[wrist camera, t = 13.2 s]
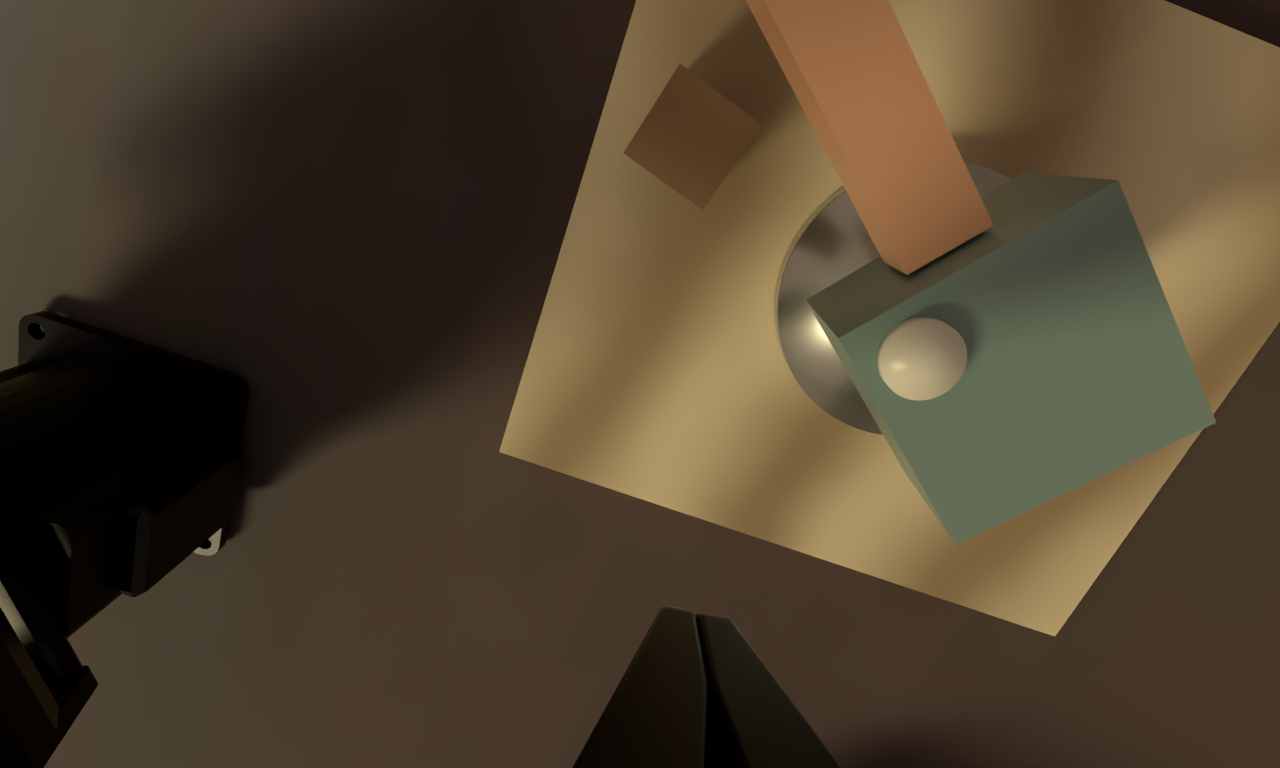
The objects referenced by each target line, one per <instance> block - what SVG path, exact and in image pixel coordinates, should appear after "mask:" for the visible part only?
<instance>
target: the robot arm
mask: <svg viewBox="0 0 1280 768" xmlns="http://www.w3.org/2000/svg"><path fill="white" fill-rule="evenodd" d="M40 325H41V326H42V328H43V329H44V331H45V334H44V333H43V331H42V330H41V328H40ZM224 385H225V386H227V387H229V388H230V390H231V391H232V396H231V395H229V394H227V393H226V391H225V390H224ZM248 395H249V391H248V386H247V384H246V382H245V381H244V380H243V379H242V378H241V377H240V376H238V375H236V374H234V373H231V372H228V371H225V370H222V369H219V368H216V367H213V366H210V365H207V364H204V363H201V362H198V361H195V360H192V359H189V358H186V357H183V356H180V355H177V354H174V353H171V352H168V351H165V350H162V349H159V348H156V347H153V346H150V345H147V344H144V343H141V342H138V341H135V340H132V339H129V338H126V337H122V336H119V335H116V334H113V333H110V332H107V331H104V330H101V329H98V328H95V327H92V326H89V325H86V324H83V323H80V322H77V321H74V320H71V319H68V318H65V317H62V316H59V315H56V314H53V313H50V312H44V311H41V312H38V313H34V314H30V315H26V316H24V317H23V318H22V319H21V320H20V324H19V354H18V366H16V367H13V368H10V369H7V370H4V371H1V372H0V768H44V766H45V765H46V763H47V761H48V760H49V758H50V757H51V755H52V754H53V752H54V751H55V749H56V748H57V746H58V745H59V743H60V742H61V740H62V739H63V737H64V736H65V734H66V733H67V731H68V730H69V728H70V727H71V725H72V724H73V722H74V721H75V719H76V718H77V716H78V715H79V713H80V712H81V710H82V709H83V707H84V706H85V704H86V702H87V701H88V699H89V698H90V696H91V695H92V693H93V692H94V690H95V689H96V687H97V685H98V683H97V681H96V679H95V677H94V675H93V674H92V672H91V670H90V668H89V667H88V666H82V664H81V662H80V661H79V659H78V657H77V655H76V653H75V652H74V650H73V648H72V646H71V644H70V643H69V641H68V639H67V638H68V637H69V636H71V635H72V634H73V633H74V632H75V631H77V630H78V629H79V628H80V627H82V626H83V625H84V624H85V623H87V622H88V621H89V620H90V619H91V618H93V617H94V616H95V615H96V614H98V613H99V612H100V611H101V610H102V609H104V608H105V607H106V606H107V605H109V604H110V603H111V602H112V601H114V600H115V599H116V598H117V597H118V596H120V595H121V594H125V595H128V596H131V597H136V596H138V595H140V594H142V593H144V592H146V591H148V590H149V589H150V588H151V587H152V586H153V585H155V584H156V583H157V582H158V581H159V580H161V579H162V578H163V577H164V576H165V575H166V574H168V573H169V572H170V571H171V570H172V569H174V568H175V567H176V566H177V565H178V564H179V563H181V562H182V561H183V560H184V559H185V558H187V557H188V556H189V555H190V554H191V553H192V552H194V553H197V554H201V555H206V556H209V555H214V554H215V553H216V552H217V551H219V550H220V549H221V548H222V547H223V546H224V545H225V544H226V541H227V536H228V529H229V522H230V520H231V519H233V518H234V517H235V515H236V509H237V503H238V496H239V489H240V483H241V476H242V470H243V463H244V457H245V452H244V449H243V446H242V445H241V442H242V435H243V428H244V422H245V415H246V408H247V402H248ZM208 539H209V540H210V541H211V542H210V541H208ZM573 768H842V767H841V765H840V764H839V763H838V761H837V760H836V759H835V757H834V756H833V755H832V753H831V752H830V751H829V749H828V748H827V747H826V745H825V744H824V743H823V741H822V740H821V739H820V737H819V736H818V735H817V733H816V732H815V731H814V729H813V728H812V727H811V725H810V724H809V723H808V721H807V720H806V719H805V717H804V716H803V715H802V713H801V712H800V711H799V709H798V708H797V707H796V705H795V704H794V703H793V701H792V700H791V699H790V697H789V696H788V695H787V693H786V692H785V691H784V689H783V688H782V687H781V685H780V684H779V683H778V681H777V680H776V679H775V677H774V676H773V675H772V673H771V672H770V671H769V669H768V668H767V667H766V665H765V664H764V663H763V661H762V660H761V659H760V657H759V656H758V655H757V653H756V652H755V651H754V649H753V648H752V647H751V645H750V644H749V643H748V641H747V640H746V639H745V637H744V636H743V635H742V633H741V632H740V631H739V629H738V628H737V627H736V625H735V624H734V623H733V621H732V620H731V619H729V618H728V617H725V616H719V615H714V614H709V613H704V612H700V613H698V614H697V615H695V613H694V612H693V611H691V610H688V609H683V608H678V607H673V606H663V607H662V608H661V609H660V611H659V613H658V615H657V616H656V618H655V620H654V622H653V624H652V625H651V627H650V629H649V631H648V633H647V634H646V636H645V638H644V640H643V642H642V643H641V645H640V647H639V649H638V651H637V652H636V654H635V656H634V658H633V660H632V661H631V663H630V665H629V667H628V669H627V670H626V672H625V674H624V676H623V678H622V679H621V681H620V683H619V685H618V687H617V688H616V690H615V692H614V694H613V696H612V697H611V699H610V701H609V703H608V705H607V706H606V708H605V710H604V712H603V714H602V715H601V717H600V719H599V721H598V723H597V724H596V726H595V728H594V730H593V732H592V733H591V735H590V737H589V739H588V741H587V742H586V744H585V746H584V748H583V750H582V751H581V753H580V755H579V757H578V759H577V760H576V762H575V764H574V766H573Z"/></svg>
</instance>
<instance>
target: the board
mask: <svg viewBox="0 0 1280 768" xmlns="http://www.w3.org/2000/svg"><path fill="white" fill-rule="evenodd" d="M888 1H889V3H890V5H891V7H892V9H893V11H894V14H895V16H896V18H897V20H898V22H899V24H900V26H901V29H902V31H903V33H904V35H905V37H906V39H907V41H908V43H909V46H910V48H911V50H912V52H913V54H914V56H915V58H916V61H917V63H918V65H919V67H920V69H921V71H922V73H923V75H924V78H925V80H926V82H927V84H928V86H929V88H930V90H931V93H932V95H933V97H934V99H935V101H936V103H937V105H938V107H939V110H940V112H941V114H942V116H943V118H944V120H945V122H946V125H947V127H948V129H949V131H950V133H951V135H952V137H953V140H954V142H955V144H956V146H957V148H958V150H959V152H960V154H961V157H962V159H963V161H964V162H966V163H973V164H976V165H979V166H983V167H986V168H989V169H992V170H994V171H996V172H999V173H1001V174H1003V175H1005V176H1007V177H1009V178H1010V179H1013V178H1014V177H1016V176H1018V175H1020V174H1021V173H1036V174H1048V175H1060V176H1073V177H1085V178H1098V179H1110V180H1119V183H1120V185H1121V188H1122V190H1123V193H1124V195H1125V198H1126V200H1127V203H1128V205H1129V208H1130V210H1131V213H1132V215H1133V218H1134V220H1135V223H1136V225H1137V228H1138V230H1139V232H1140V235H1141V237H1142V240H1143V242H1144V245H1145V247H1146V250H1147V252H1148V255H1149V257H1150V260H1151V262H1152V265H1153V267H1154V270H1155V272H1156V275H1157V277H1158V280H1159V282H1160V285H1161V287H1162V290H1163V292H1164V294H1165V297H1166V299H1167V302H1168V304H1169V307H1170V309H1171V312H1172V314H1173V317H1174V319H1175V322H1176V324H1177V327H1178V329H1179V332H1180V334H1181V337H1182V339H1183V342H1184V344H1185V347H1186V349H1187V351H1188V354H1189V356H1190V359H1191V361H1192V364H1193V366H1194V369H1195V371H1196V374H1197V376H1198V379H1199V381H1200V384H1201V386H1202V389H1203V391H1204V394H1205V396H1206V399H1207V401H1208V404H1209V406H1210V409H1211V411H1212V413H1213V414H1214V413H1215V411H1216V410H1217V409H1218V407H1219V406H1220V404H1221V403H1222V402H1223V400H1224V399H1225V397H1226V396H1227V395H1228V393H1229V392H1230V390H1231V389H1232V388H1233V386H1234V385H1235V383H1236V382H1237V381H1238V379H1239V378H1240V376H1241V375H1242V374H1243V372H1244V371H1245V369H1246V368H1247V367H1248V365H1249V364H1250V362H1251V361H1252V360H1253V358H1254V357H1255V355H1256V354H1257V353H1258V351H1259V350H1260V348H1261V347H1262V346H1263V344H1264V343H1265V341H1266V340H1267V339H1268V337H1269V336H1270V334H1271V333H1272V331H1273V330H1274V329H1275V327H1276V326H1277V324H1278V323H1279V322H1280V47H1277V46H1275V45H1272V44H1270V43H1268V42H1265V41H1263V40H1260V39H1258V38H1255V37H1253V36H1250V35H1248V34H1246V33H1243V32H1241V31H1238V30H1236V29H1233V28H1231V27H1229V26H1226V25H1224V24H1221V23H1219V22H1216V21H1214V20H1211V19H1209V18H1207V17H1204V16H1202V15H1199V14H1197V13H1194V12H1192V11H1190V10H1187V9H1185V8H1182V7H1180V6H1177V5H1175V4H1172V3H1170V2H1168V1H1165V0H888ZM679 64H682V65H683V66H684V67H686V68H687V69H688V70H690V71H691V72H692V73H694V74H695V75H696V76H698V77H699V78H700V79H701V80H703V81H704V82H705V83H707V84H708V85H709V86H711V87H712V88H713V89H715V90H716V91H717V92H719V93H720V94H721V95H723V96H724V97H725V98H727V99H728V100H729V101H731V102H732V103H733V104H735V105H736V106H737V107H739V108H740V109H741V110H743V111H744V112H745V113H747V114H748V115H749V116H750V117H752V118H753V119H754V120H756V121H757V122H758V123H760V124H761V125H762V126H761V127H760V129H759V130H758V131H757V133H756V134H755V136H754V137H753V139H752V140H751V142H750V143H749V144H748V146H747V147H746V149H745V150H744V152H743V153H742V154H741V156H740V157H739V159H738V160H737V162H736V163H735V165H734V166H733V167H732V169H731V170H730V172H729V173H728V175H727V176H726V177H725V179H724V180H723V182H722V183H721V185H720V186H719V188H718V189H717V190H716V192H715V193H714V195H713V196H712V198H711V199H710V200H709V202H708V203H707V205H706V206H705V208H704V209H703V210H702V209H700V208H699V207H698V206H696V205H695V204H693V203H692V202H691V201H689V200H688V199H686V198H685V197H684V196H682V195H681V194H679V193H678V192H677V191H675V190H674V189H672V188H671V187H670V186H668V185H667V184H666V183H664V182H663V181H661V180H660V179H659V178H657V177H656V176H654V175H653V174H652V173H650V172H649V171H647V170H646V169H645V168H643V167H642V166H640V165H639V164H638V163H636V162H635V161H633V160H632V159H631V158H629V157H628V156H627V155H625V154H624V151H625V149H626V148H627V146H628V145H629V143H630V142H631V140H632V138H633V137H634V135H635V134H636V132H637V131H638V129H639V127H640V126H641V124H642V123H643V121H644V119H645V118H646V116H647V115H648V113H649V112H650V110H651V108H652V107H653V105H654V104H655V102H656V101H657V99H658V97H659V96H660V94H661V93H662V91H663V89H664V88H665V86H666V85H667V83H668V82H669V80H670V78H671V77H672V75H673V74H674V72H675V70H676V69H677V67H678V66H679ZM841 187H843V184H842V182H841V180H840V178H839V176H838V175H837V173H836V171H835V169H834V167H833V165H832V163H831V161H830V159H829V157H828V156H827V154H826V152H825V150H824V148H823V146H822V144H821V142H820V140H819V138H818V137H817V135H816V133H815V131H814V129H813V127H812V125H811V123H810V121H809V120H808V118H807V116H806V114H805V112H804V110H803V108H802V106H801V104H800V102H799V101H798V99H797V97H796V95H795V93H794V91H793V89H792V87H791V85H790V84H789V82H788V80H787V78H786V76H785V74H784V72H783V70H782V68H781V66H780V65H779V63H778V61H777V59H776V57H775V55H774V53H773V51H772V49H771V47H770V46H769V44H768V42H767V40H766V38H765V36H764V34H763V32H762V30H761V29H760V27H759V25H758V23H757V21H756V19H755V17H754V15H753V13H752V11H751V10H750V8H749V6H748V4H747V2H746V0H636V3H635V6H634V9H633V13H632V16H631V19H630V22H629V26H628V29H627V32H626V36H625V39H624V42H623V46H622V49H621V52H620V55H619V59H618V62H617V65H616V69H615V72H614V75H613V78H612V82H611V85H610V88H609V92H608V95H607V98H606V102H605V105H604V108H603V111H602V115H601V118H600V121H599V125H598V128H597V131H596V134H595V138H594V141H593V144H592V148H591V151H590V154H589V158H588V161H587V164H586V167H585V171H584V174H583V177H582V181H581V184H580V187H579V191H578V194H577V197H576V200H575V204H574V207H573V210H572V214H571V217H570V220H569V223H568V227H567V230H566V233H565V237H564V240H563V243H562V247H561V250H560V253H559V256H558V260H557V263H556V266H555V270H554V273H553V276H552V279H551V283H550V286H549V289H548V293H547V296H546V299H545V303H544V306H543V309H542V312H541V316H540V319H539V322H538V326H537V329H536V332H535V336H534V339H533V342H532V345H531V349H530V352H529V355H528V359H527V362H526V365H525V368H524V372H523V375H522V378H521V382H520V385H519V388H518V392H517V395H516V398H515V401H514V405H513V408H512V411H511V415H510V418H509V421H508V424H507V428H506V431H505V434H504V438H503V441H502V444H501V448H500V451H499V452H501V453H504V454H507V455H510V456H513V457H516V458H519V459H522V460H525V461H528V462H531V463H534V464H537V465H540V466H543V467H546V468H549V469H552V470H555V471H558V472H561V473H564V474H567V475H570V476H573V477H576V478H579V479H582V480H585V481H588V482H591V483H594V484H597V485H600V486H603V487H606V488H609V489H612V490H615V491H618V492H621V493H624V494H627V495H630V496H633V497H636V498H640V499H643V500H646V501H649V502H652V503H655V504H658V505H661V506H664V507H667V508H670V509H673V510H676V511H679V512H682V513H685V514H688V515H691V516H694V517H697V518H700V519H703V520H706V521H709V522H712V523H715V524H718V525H721V526H724V527H727V528H730V529H733V530H736V531H739V532H742V533H745V534H748V535H751V536H754V537H757V538H760V539H763V540H766V541H769V542H772V543H775V544H778V545H781V546H784V547H787V548H790V549H793V550H796V551H799V552H802V553H805V554H808V555H811V556H814V557H817V558H820V559H823V560H826V561H829V562H832V563H835V564H838V565H841V566H844V567H847V568H850V569H853V570H856V571H859V572H862V573H865V574H868V575H871V576H874V577H877V578H880V579H883V580H886V581H889V582H892V583H895V584H898V585H901V586H904V587H907V588H910V589H914V590H917V591H920V592H923V593H926V594H929V595H932V596H935V597H938V598H941V599H944V600H947V601H950V602H953V603H956V604H959V605H962V606H965V607H968V608H971V609H974V610H977V611H980V612H983V613H986V614H989V615H992V616H995V617H998V618H1001V619H1004V620H1007V621H1010V622H1013V623H1016V624H1019V625H1022V626H1025V627H1028V628H1031V629H1034V630H1037V631H1040V632H1043V633H1046V634H1049V635H1052V636H1056V634H1057V633H1058V631H1059V630H1060V629H1061V627H1062V626H1063V624H1064V623H1065V622H1066V620H1067V619H1068V617H1069V616H1070V615H1071V613H1072V612H1073V610H1074V609H1075V608H1076V606H1077V605H1078V603H1079V602H1080V601H1081V599H1082V598H1083V596H1084V595H1085V594H1086V592H1087V591H1088V589H1089V588H1090V587H1091V585H1092V584H1093V582H1094V581H1095V580H1096V578H1097V577H1098V575H1099V574H1100V573H1101V571H1102V570H1103V568H1104V567H1105V566H1106V564H1107V563H1108V561H1109V560H1110V559H1111V557H1112V556H1113V554H1114V553H1115V552H1116V550H1117V549H1118V547H1119V546H1120V545H1121V543H1122V542H1123V540H1124V539H1125V538H1126V536H1127V535H1128V533H1129V532H1130V531H1131V529H1132V528H1133V526H1134V525H1135V524H1136V522H1137V521H1138V519H1139V518H1140V517H1141V515H1142V514H1143V512H1144V511H1145V510H1146V508H1147V507H1148V505H1149V504H1150V503H1151V501H1152V500H1153V498H1154V497H1155V496H1156V494H1157V493H1158V491H1159V490H1160V488H1161V487H1162V486H1163V484H1164V483H1165V481H1166V480H1167V479H1168V477H1169V476H1170V474H1171V473H1172V472H1173V470H1174V469H1175V467H1176V466H1177V465H1178V463H1179V462H1180V460H1181V459H1182V458H1183V456H1184V455H1185V453H1186V452H1187V451H1188V449H1189V448H1190V446H1191V445H1192V444H1193V442H1194V441H1195V439H1196V438H1197V437H1198V435H1199V434H1200V432H1201V431H1202V430H1203V429H1201V430H1199V431H1197V432H1195V433H1193V434H1191V435H1189V436H1187V437H1184V438H1182V439H1180V440H1178V441H1176V442H1174V443H1172V444H1169V445H1167V446H1165V447H1163V448H1161V449H1159V450H1157V451H1155V452H1152V453H1150V454H1148V455H1146V456H1144V457H1142V458H1140V459H1137V460H1135V461H1133V462H1131V463H1129V464H1127V465H1125V466H1123V467H1120V468H1118V469H1116V470H1114V471H1112V472H1110V473H1108V474H1105V475H1103V476H1101V477H1099V478H1097V479H1095V480H1093V481H1091V482H1088V483H1086V484H1084V485H1082V486H1080V487H1078V488H1076V489H1073V490H1071V491H1069V492H1067V493H1065V494H1063V495H1061V496H1059V497H1056V498H1054V499H1052V500H1050V501H1048V502H1046V503H1044V504H1041V505H1039V506H1037V507H1035V508H1033V509H1031V510H1029V511H1027V512H1024V513H1022V514H1020V515H1018V516H1016V517H1014V518H1012V519H1009V520H1007V521H1005V522H1003V523H1001V524H999V525H997V526H995V527H992V528H990V529H988V530H986V531H984V532H982V533H980V534H977V535H975V536H973V537H971V538H969V539H967V540H965V541H962V542H960V543H958V544H956V545H955V543H954V542H953V540H952V539H951V538H950V536H949V535H948V533H947V532H946V530H945V529H944V528H943V526H942V525H941V523H940V522H939V520H938V519H937V518H936V516H935V515H934V513H933V512H932V511H931V509H930V508H929V506H928V505H927V503H926V502H925V501H924V499H923V498H922V496H921V495H920V493H919V492H918V491H917V489H916V488H915V486H914V485H913V483H912V482H911V481H910V479H909V478H908V476H907V475H906V473H905V472H904V470H903V469H902V467H901V465H900V463H899V462H898V460H897V458H896V456H895V455H894V453H893V451H892V450H891V448H890V446H889V444H888V443H887V441H886V439H885V437H884V436H883V435H880V434H874V433H870V432H867V431H863V430H860V429H857V428H854V427H852V426H850V425H847V424H845V423H843V422H841V421H839V420H838V419H836V418H834V417H832V416H831V415H829V414H828V413H826V412H825V411H824V410H823V409H821V408H820V407H819V406H818V405H816V404H815V403H814V402H813V401H812V400H811V398H810V397H809V396H808V395H807V394H806V393H805V392H804V391H803V389H802V388H801V386H800V385H799V384H798V382H797V381H796V379H795V378H794V376H793V374H792V372H791V370H790V368H789V366H788V364H787V362H786V360H785V358H784V356H783V354H782V351H781V348H780V345H779V343H778V339H777V334H776V329H775V324H774V294H775V287H776V282H777V278H778V273H779V270H780V267H781V264H782V261H783V259H784V256H785V254H786V252H787V250H788V248H789V246H790V244H791V242H792V240H793V238H794V237H795V235H796V234H797V232H798V231H799V229H800V228H801V226H802V225H803V223H804V222H805V221H806V220H807V218H808V217H809V216H810V215H811V214H812V213H813V211H814V210H815V209H816V208H817V207H818V206H819V205H820V204H821V203H823V202H824V201H825V200H826V199H827V198H828V197H829V196H830V195H832V194H833V193H834V192H836V191H837V190H838V189H840V188H841Z"/></svg>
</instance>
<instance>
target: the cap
mask: <svg viewBox="0 0 1280 768" xmlns="http://www.w3.org/2000/svg"><path fill="white" fill-rule="evenodd" d="M746 2H747V4H748V6H749V8H750V10H751V11H752V13H753V15H754V17H755V19H756V21H757V23H758V25H759V27H760V29H761V30H762V32H763V34H764V36H765V38H766V40H767V42H768V44H769V46H770V47H771V49H772V51H773V53H774V55H775V57H776V59H777V61H778V63H779V65H780V66H781V68H782V70H783V72H784V74H785V76H786V78H787V80H788V82H789V84H790V85H791V87H792V89H793V91H794V93H795V95H796V97H797V99H798V101H799V102H800V104H801V106H802V108H803V110H804V112H805V114H806V116H807V118H808V120H809V121H810V123H811V125H812V127H813V129H814V131H815V133H816V135H817V137H818V138H819V140H820V142H821V144H822V146H823V148H824V150H825V152H826V154H827V156H828V157H829V159H830V161H831V163H832V165H833V167H834V169H835V171H836V173H837V175H838V176H839V178H840V180H841V182H842V184H843V186H844V188H845V190H846V192H847V193H848V195H849V197H850V199H851V201H852V203H853V205H854V207H855V209H856V211H857V212H858V214H859V216H860V218H861V220H862V222H863V224H864V226H865V228H866V229H867V231H868V233H869V235H870V237H871V239H872V241H873V243H874V245H875V247H876V248H877V250H878V252H879V254H880V257H878V258H876V259H875V260H873V261H871V262H870V263H868V264H866V265H864V266H863V267H861V268H859V269H858V270H856V271H854V272H853V273H851V274H849V275H847V276H846V277H844V278H842V279H841V280H839V281H837V282H835V283H834V284H832V285H830V286H829V287H827V288H825V289H824V290H822V291H820V292H818V293H817V294H815V295H813V296H812V297H810V298H808V299H807V300H806V301H807V303H808V305H809V307H810V308H811V310H812V312H813V314H814V315H815V317H816V319H817V321H818V322H819V324H820V326H821V327H822V329H823V331H824V333H825V334H826V336H827V338H828V340H829V341H830V343H831V345H832V347H833V348H834V350H835V352H836V354H837V355H838V357H839V359H840V361H841V362H842V364H843V366H844V368H845V369H846V371H847V373H848V375H849V376H850V378H851V380H852V382H853V383H854V385H855V387H856V388H857V390H858V392H859V394H860V395H861V397H862V399H863V401H864V402H865V404H866V406H867V408H868V409H869V411H870V413H871V415H872V416H873V418H874V420H875V422H876V423H877V425H878V427H879V429H880V430H881V432H882V434H883V436H884V437H885V439H886V441H887V443H888V444H889V446H890V448H891V450H892V451H893V453H894V455H895V456H896V458H897V460H898V462H899V463H900V465H901V467H902V469H903V470H904V472H905V473H906V475H907V476H908V478H909V479H910V481H911V482H912V483H913V485H914V486H915V488H916V489H917V491H918V492H919V493H920V495H921V496H922V498H923V499H924V501H925V502H926V503H927V505H928V506H929V508H930V509H931V511H932V512H933V513H934V515H935V516H936V518H937V519H938V520H939V522H940V523H941V525H942V526H943V528H944V529H945V530H946V532H947V533H948V535H949V536H950V538H951V539H952V540H953V542H954V543H955V545H956V544H958V543H960V542H962V541H965V540H967V539H969V538H971V537H973V536H975V535H977V534H980V533H982V532H984V531H986V530H988V529H990V528H992V527H995V526H997V525H999V524H1001V523H1003V522H1005V521H1007V520H1009V519H1012V518H1014V517H1016V516H1018V515H1020V514H1022V513H1024V512H1027V511H1029V510H1031V509H1033V508H1035V507H1037V506H1039V505H1041V504H1044V503H1046V502H1048V501H1050V500H1052V499H1054V498H1056V497H1059V496H1061V495H1063V494H1065V493H1067V492H1069V491H1071V490H1073V489H1076V488H1078V487H1080V486H1082V485H1084V484H1086V483H1088V482H1091V481H1093V480H1095V479H1097V478H1099V477H1101V476H1103V475H1105V474H1108V473H1110V472H1112V471H1114V470H1116V469H1118V468H1120V467H1123V466H1125V465H1127V464H1129V463H1131V462H1133V461H1135V460H1137V459H1140V458H1142V457H1144V456H1146V455H1148V454H1150V453H1152V452H1155V451H1157V450H1159V449H1161V448H1163V447H1165V446H1167V445H1169V444H1172V443H1174V442H1176V441H1178V440H1180V439H1182V438H1184V437H1187V436H1189V435H1191V434H1193V433H1195V432H1197V431H1199V430H1201V429H1204V428H1206V427H1208V426H1210V425H1212V424H1214V423H1216V421H1215V418H1214V416H1213V413H1212V411H1211V409H1210V406H1209V404H1208V401H1207V399H1206V396H1205V394H1204V391H1203V389H1202V386H1201V384H1200V381H1199V379H1198V376H1197V374H1196V371H1195V369H1194V366H1193V364H1192V361H1191V359H1190V356H1189V354H1188V351H1187V349H1186V347H1185V344H1184V342H1183V339H1182V337H1181V334H1180V332H1179V329H1178V327H1177V324H1176V322H1175V319H1174V317H1173V314H1172V312H1171V309H1170V307H1169V304H1168V302H1167V299H1166V297H1165V294H1164V292H1163V290H1162V287H1161V285H1160V282H1159V280H1158V277H1157V275H1156V272H1155V270H1154V267H1153V265H1152V262H1151V260H1150V257H1149V255H1148V252H1147V250H1146V247H1145V245H1144V242H1143V240H1142V237H1141V235H1140V232H1139V230H1138V228H1137V225H1136V223H1135V220H1134V218H1133V215H1132V213H1131V210H1130V208H1129V205H1128V203H1127V200H1126V198H1125V195H1124V193H1123V190H1122V188H1121V185H1120V183H1119V180H1110V179H1098V178H1085V177H1073V176H1060V175H1048V174H1036V173H1021V174H1020V175H1018V176H1016V177H1014V178H1013V179H1011V180H1009V181H1008V182H1006V183H1004V184H1002V185H1001V186H999V187H997V188H996V189H994V190H992V191H991V192H989V193H987V194H985V195H984V196H982V197H980V195H979V193H978V191H977V189H976V186H975V184H974V182H973V180H972V178H971V176H970V174H969V172H968V169H967V167H966V165H965V163H964V161H963V159H962V157H961V154H960V152H959V150H958V148H957V146H956V144H955V142H954V140H953V137H952V135H951V133H950V131H949V129H948V127H947V125H946V122H945V120H944V118H943V116H942V114H941V112H940V110H939V107H938V105H937V103H936V101H935V99H934V97H933V95H932V93H931V90H930V88H929V86H928V84H927V82H926V80H925V78H924V75H923V73H922V71H921V69H920V67H919V65H918V63H917V61H916V58H915V56H914V54H913V52H912V50H911V48H910V46H909V43H908V41H907V39H906V37H905V35H904V33H903V31H902V29H901V26H900V24H899V22H898V20H897V18H896V16H895V14H894V11H893V9H892V7H891V5H890V3H889V1H888V0H746Z"/></svg>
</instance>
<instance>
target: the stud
mask: <svg viewBox="0 0 1280 768" xmlns="http://www.w3.org/2000/svg"><path fill="white" fill-rule="evenodd" d="M964 163H965V165H966V167H967V169H968V172H969V174H970V176H971V178H972V180H973V182H974V184H975V186H976V189H977V191H978V193H979V195H980V197H982V196H984V195H985V194H987V193H989V192H991V191H992V190H994V189H996V188H997V187H999V186H1001V185H1002V184H1004V183H1006V182H1008V181H1009V180H1011V179H1010V178H1009V177H1007V176H1005V175H1003V174H1001V173H999V172H996V171H994V170H992V169H989V168H986V167H983V166H979V165H976V164H973V163H966V162H964ZM878 257H880V254H879V252H878V250H877V248H876V247H875V245H874V243H873V241H872V239H871V237H870V235H869V233H868V231H867V229H866V228H865V226H864V224H863V222H862V220H861V218H860V216H859V214H858V212H857V211H856V209H855V207H854V205H853V203H852V201H851V199H850V197H849V195H848V193H847V192H846V190H845V188H844V186H843V187H841V188H840V189H838V190H837V191H836V192H834V193H833V194H832V195H830V196H829V197H828V198H827V199H826V200H825V201H824V202H823V203H821V204H820V205H819V206H818V207H817V208H816V209H815V210H814V211H813V213H812V214H811V215H810V216H809V217H808V218H807V220H806V221H805V222H804V223H803V225H802V226H801V228H800V229H799V231H798V232H797V234H796V235H795V237H794V238H793V240H792V242H791V244H790V246H789V248H788V250H787V252H786V254H785V256H784V259H783V261H782V264H781V267H780V270H779V273H778V278H777V282H776V287H775V294H774V324H775V329H776V334H777V339H778V343H779V345H780V348H781V351H782V354H783V356H784V358H785V360H786V362H787V364H788V366H789V368H790V370H791V372H792V374H793V376H794V378H795V379H796V381H797V382H798V384H799V385H800V386H801V388H802V389H803V391H804V392H805V393H806V394H807V395H808V396H809V397H810V398H811V400H812V401H813V402H814V403H815V404H816V405H818V406H819V407H820V408H821V409H823V410H824V411H825V412H826V413H828V414H829V415H831V416H832V417H834V418H836V419H838V420H839V421H841V422H843V423H845V424H847V425H850V426H852V427H854V428H857V429H860V430H863V431H867V432H870V433H874V434H880V435H883V434H882V432H881V430H880V429H879V427H878V425H877V423H876V422H875V420H874V418H873V416H872V415H871V413H870V411H869V409H868V408H867V406H866V404H865V402H864V401H863V399H862V397H861V395H860V394H859V392H858V390H857V388H856V387H855V385H854V383H853V382H852V380H851V378H850V376H849V375H848V373H847V371H846V369H845V368H844V366H843V364H842V362H841V361H840V359H839V357H838V355H837V354H836V352H835V350H834V348H833V347H832V345H831V343H830V341H829V340H828V338H827V336H826V334H825V333H824V331H823V329H822V327H821V326H820V324H819V322H818V321H817V319H816V317H815V315H814V314H813V312H812V310H811V308H810V307H809V305H808V303H807V301H806V300H807V299H808V298H810V297H812V296H813V295H815V294H817V293H818V292H820V291H822V290H824V289H825V288H827V287H829V286H830V285H832V284H834V283H835V282H837V281H839V280H841V279H842V278H844V277H846V276H847V275H849V274H851V273H853V272H854V271H856V270H858V269H859V268H861V267H863V266H864V265H866V264H868V263H870V262H871V261H873V260H875V259H876V258H878Z"/></svg>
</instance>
